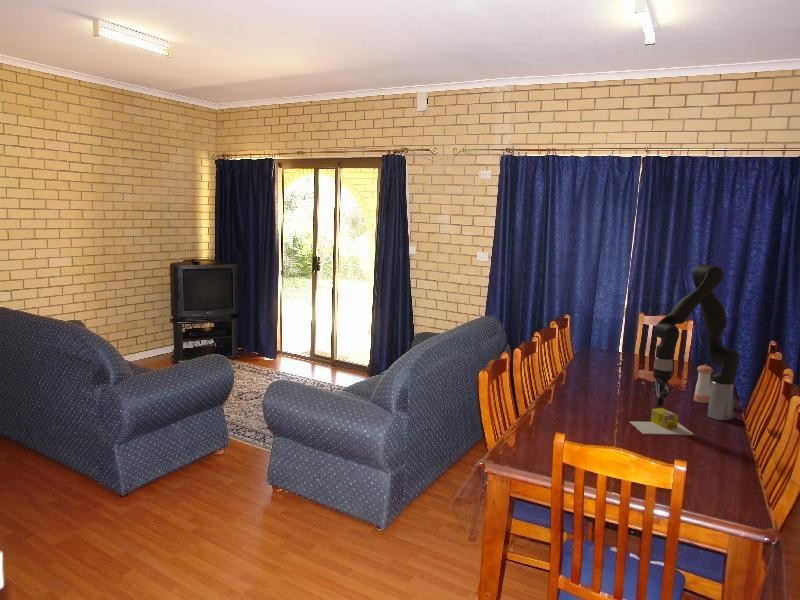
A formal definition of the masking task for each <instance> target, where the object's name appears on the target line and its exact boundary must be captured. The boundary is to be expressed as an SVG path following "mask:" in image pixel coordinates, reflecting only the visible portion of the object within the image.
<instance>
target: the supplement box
mask: <svg viewBox="0 0 800 600" xmlns="http://www.w3.org/2000/svg"><path fill="white" fill-rule="evenodd" d="M649 422H654V423H656V424H658V425H660V426H662V427H664V428H666V429H671V428H677V426H678V423H679V415H678V414H677V413H674V412H672V411H669V410H668V409H665V408H663V407H654V408H653V407H652V408H650V415H649Z"/></svg>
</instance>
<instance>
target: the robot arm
mask: <svg viewBox="0 0 800 600" xmlns="http://www.w3.org/2000/svg"><path fill="white" fill-rule="evenodd" d="M691 275H692V281H693V285H694V287H695V289H694V290H692V292H690V293H689V294H687V295H685V296H684V297H683V298H681V299H679V301H678V302H676V304H675V305H674V306H673V308H672V309H671V310H670V312H669V313H668V314H667V315H665V316H664V317H663V318H661V320H659V321H658V323H657V324H656V325H655V327H654V335H655V337H657V338H659V339H661V340H662V339H663V343H659V344H658V345H656V348H655V358H654V361H653V362H654V363H653V373H652V377H653V378H654V379H655V381H652V386H653V391H654V394H655V395H656V406H658V407H662V406H663V405H664V399H667V397H668V396H669V395H670V392H672V390H671V388H669V387H668V386H669V381H670V380H672V378H673V367H674V365H673V364H674V361H673V360H674V352H675V349H676V348H675V347H676V345H677V343H678V340H679V337H680V330H679V328H678V326H677V325H682V324H684V323H685V322H686V321H687V320H688V318H689V316H690V315H691V314H692V312H693V311H694V310H695V308H697V306H698V305H699V304H700V308H701V313H702V318H703V323H704V326H705V331H706V336H707V338H706V339H707V345H708V346H707V347H708V348H707V349H708V356H709V360H710V363H711V364H712V365H713V366H717V367H719V368H721V371H720V372H717V373H713V374H712V375H711V378H710V397H709V403H708V407H707V408H708V409H707V417H709V418H711V419H714V420H716V421H717V420H718V421H730V420H733V412H734V402H735V399H733V394H734V384H735V380H736V378H737V373H738V368H739V363H740V355H739V352H738V351H737V350H735V349H731V348H729V347H728V348H727V347H724V346H723V342H722V336H723V333H724V332H725V330H726V328H727V325H728V318H727V314H726V309H725V307H724V305H723V304H722V302H721V300H720V299H718V297H717V296H716V294H715V293H714V290H715V289H716V288H717V287H718V286H719V285H720V284H721V282H722V280H723V279H724V272H723V269H722V268H721V267H719V266H716V265H711V264H703V263H700V264H697V265H696V266H695V267H694V268H693V270H692V274H691Z"/></svg>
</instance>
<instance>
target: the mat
mask: <svg viewBox="0 0 800 600" xmlns="http://www.w3.org/2000/svg"><path fill="white" fill-rule="evenodd" d="M629 423H630V425H632V426H633V427H634V428H635V427H636V428H635V429H636V430H638V431H639V432H640V433H641V434H642V435H661V436H662V435H663V436H664V435H665V436H667V435H668V436H670V435H671V436H673V435H674V436H695V434H694V433H693V432H692V431H691V430H689V429H687V427H685V426H684V425H682V424H681V423H680V422H678V426H677V428H671V429H666V428H664V427H662V426H660V425H658V424H656V423H654V422H652V421H629Z"/></svg>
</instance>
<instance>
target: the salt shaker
mask: <svg viewBox="0 0 800 600" xmlns="http://www.w3.org/2000/svg"><path fill="white" fill-rule="evenodd" d="M696 370H697V372H698V375H697V380H696V381H697V382H696V385H695V392H694V394H693V401H694V402H697V403H701V404H709V397H710V388H711V376H712V375H711V374H712V373H713V371H714V370H713V368H712V367H711V366H709V365H707V364H706V363H705V364H703V365H702V364H701V365H699V366H698V367H697V368H696Z"/></svg>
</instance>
